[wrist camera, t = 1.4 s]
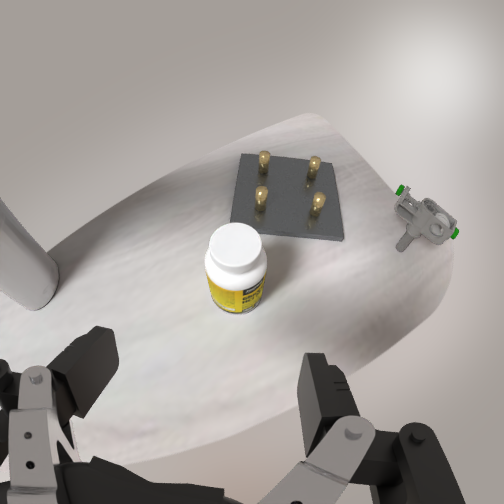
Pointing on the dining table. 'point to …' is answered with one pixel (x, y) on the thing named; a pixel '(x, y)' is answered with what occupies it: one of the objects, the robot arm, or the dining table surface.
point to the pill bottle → (236, 268)
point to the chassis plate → (287, 197)
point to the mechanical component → (423, 220)
